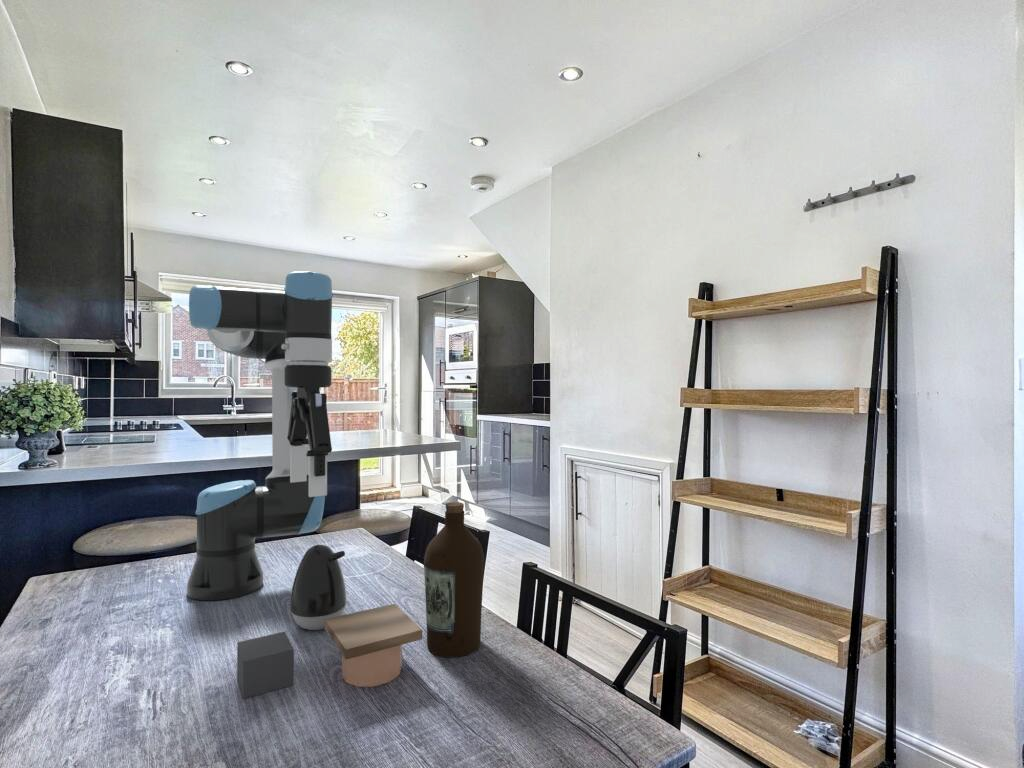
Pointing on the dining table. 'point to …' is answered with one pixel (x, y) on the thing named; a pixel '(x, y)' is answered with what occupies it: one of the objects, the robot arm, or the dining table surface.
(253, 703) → the dining table surface
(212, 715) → the dining table surface
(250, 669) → the block
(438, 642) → the olive oil
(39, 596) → the dining table surface
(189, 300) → the robot arm
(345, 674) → the bowl
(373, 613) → the lid
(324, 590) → the pump dispenser
